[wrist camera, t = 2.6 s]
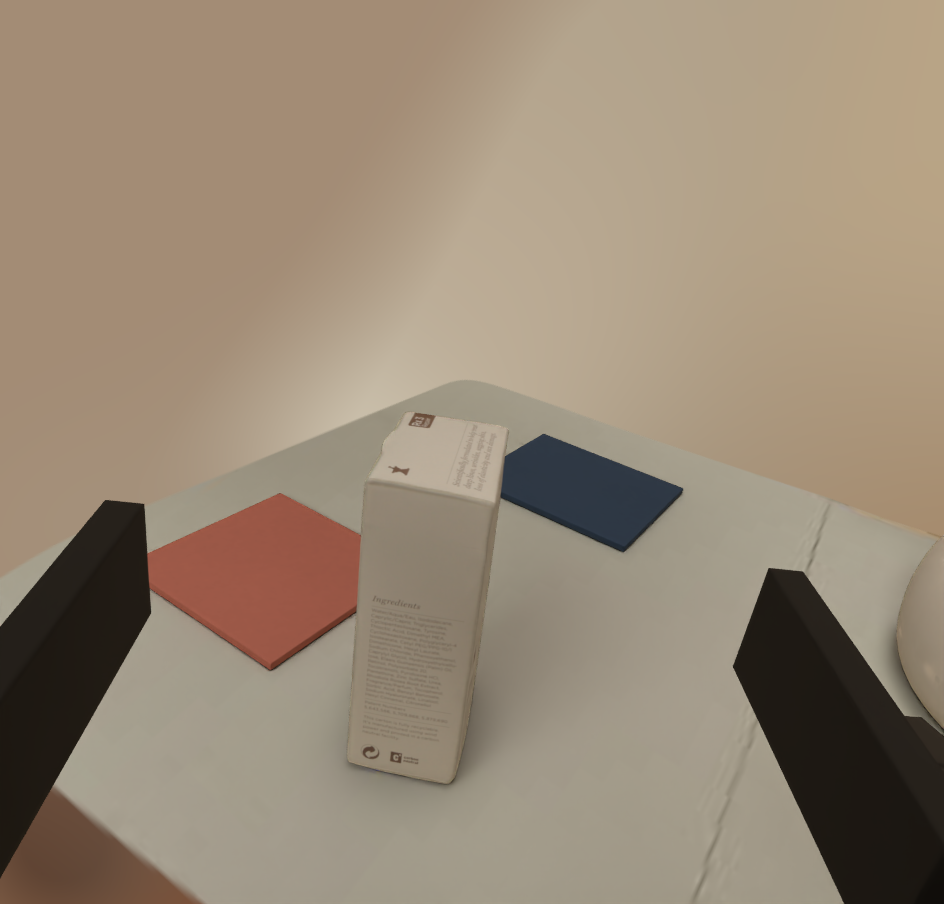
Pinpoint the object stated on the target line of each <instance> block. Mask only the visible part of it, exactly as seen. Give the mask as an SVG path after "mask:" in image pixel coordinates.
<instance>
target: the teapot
mask: <svg viewBox="0 0 944 904" xmlns="http://www.w3.org/2000/svg"><path fill="white" fill-rule="evenodd" d="M897 646H898V653H899V657H900V660H901V664H902V667H903V670H904V672H905V675H906V677H907V679H908V681H909V683H910V685H911V687H912V689H913V690H914V692H915V693H916V695H917V696H918V698H919V699H920V701H921V702H922V704H923V705H924V707H925V708H926V709H927V710H928V712H929V713H930V714H931V715H932V717H933V718H934V719H935V720H936V721H937V722H938V723H939V725H940V726H941V727H942V728H943V729H944V535H943V536H942V537H941V538H940V539H939V540H938V541H937V542H936V543H935V544H934V545H933V546H932V548H931V549H930V550H929V551H928V553H927V554H926V555H925V557H924V558H923V560H922V561H921V562H920V564H919V566H918V568H917V569H916V571H915V573H914V574H913V576H912V578H911V581H910V583H909V585H908V588H907V590H906V592H905V595H904V598H903V601H902V604H901V608H900V612H899V617H898V624H897Z"/></svg>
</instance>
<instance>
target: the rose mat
mask: <svg viewBox="0 0 944 904" xmlns="http://www.w3.org/2000/svg"><path fill="white" fill-rule="evenodd" d="M360 542H361V535H359V534H357V533H355V532H353V531H351V530H349V529H348V528H346V527H344V526H342V525H340V524H338V523H336V522H334V521H332V520H330V519H329V518H327V517H325V516H323V515H321V514H319V513H317V512H315V511H313V510H311V509H310V508H308V507H306V506H304V505H302V504H300V503H298V502H296V501H294V500H292V499H291V498H289V497H287V496H285V495H283V494H281V493H279V494H277V495H275V496H273V497H270V498H268V499H266V500H264V501H262V502H260V503H257V504H255V505H253V506H251V507H249V508H246V509H244V510H242V511H240V512H238V513H235V514H233V515H231V516H229V517H227V518H224V519H222V520H220V521H218V522H216V523H213V524H211V525H209V526H207V527H205V528H203V529H200V530H198V531H196V532H194V533H192V534H189V535H187V536H185V537H183V538H181V539H178V540H176V541H174V542H172V543H170V544H167V545H165V546H163V547H161V548H159V549H156V550H154V551H152V552H150V553H148V554H147V556H148V572H149V588H150V589H152V590H153V591H155V592H156V593H158V594H159V595H161V596H162V597H163V598H165V599H166V600H168V601H169V602H171V603H172V604H174V605H175V606H177V607H178V608H180V609H181V610H183V611H184V612H186V613H187V614H188V615H190V616H191V617H193V618H194V619H196V620H197V621H199V622H200V623H202V624H203V625H205V626H206V627H208V628H209V629H211V630H212V631H214V632H215V633H216V634H218V635H219V636H221V637H222V638H224V639H225V640H227V641H228V642H230V643H231V644H233V645H234V646H236V647H237V648H239V649H240V650H241V651H243V652H244V653H246V654H247V655H249V656H250V657H252V658H253V659H255V660H256V661H258V662H259V663H261V664H262V665H264V666H265V667H267V668H268V669H269V670H272V669H273V668H275V667H276V666H277V665H279V664H280V663H282V662H283V661H285V660H286V659H288V658H289V657H291V656H292V655H293V654H295V653H296V652H298V651H299V650H301V649H302V648H304V647H305V646H307V645H308V644H309V643H311V642H312V641H314V640H315V639H317V638H318V637H320V636H321V635H323V634H324V633H325V632H327V631H328V630H330V629H331V628H333V627H334V626H336V625H337V624H339V623H340V622H341V621H343V620H344V619H346V618H347V617H349V616H350V615H352V614H353V613H355V612H356V610H357V595H358V578H359V562H360Z"/></svg>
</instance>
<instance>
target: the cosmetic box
mask: <svg viewBox="0 0 944 904" xmlns="http://www.w3.org/2000/svg"><path fill="white" fill-rule="evenodd" d="M508 434H509V430H508V429H507V428H504V427H500V426H496V425H491V424H486V423H479V422H473V421H466V420H459V419H453V418H447V417H440V416H433V415H427V414H420V413H414V412H406V413H404V414H403V415H402V417H401V419H400V421H399V423H398V424H397V426H396V428H395V430H394V431H393V432H392V433H391V434H389V435H388V436H387V438H386V439H385V441H384V442H383V444H382V450H381V454H380V455H379V457H378V459H377V461H376V463H375V464H374V466H373V468H372V470H371V472H370V474H369V475H368V477H367V479H366V481H365V487H364V499H363V513H362V527H361V542H360V562H359V578H358V595H357V610H356V626H355V639H354V654H353V667H352V684H351V698H350V711H349V729H348V745H347V758H348V761H349V762H351V763H354V764H357V765H361V766H365V767H368V768H372V769H376V770H379V771H384V772H388V773H394V774H399V775H403V776H407V777H412V778H416V779H421V780H426V781H432V782H438V783H443V784H449V783H450V782H451V781H452V780H453V779H454V777H455V776H456V773H457V769H458V765H459V762H460V758H461V754H462V750H463V746H464V741H465V737H466V732H467V727H468V721H469V715H470V709H471V702H472V696H473V690H474V683H475V677H476V670H477V663H478V656H479V649H480V642H481V635H482V627H483V620H484V613H485V606H486V599H487V592H488V586H489V579H490V570H491V563H492V555H493V548H494V541H495V533H496V526H497V519H498V511H499V504H500V495H501V487H502V478H503V468H504V460H505V453H506V446H507V440H508Z"/></svg>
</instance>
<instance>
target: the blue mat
mask: <svg viewBox="0 0 944 904" xmlns="http://www.w3.org/2000/svg"><path fill="white" fill-rule="evenodd" d="M682 491H683V488H681V487H678V486H676V485H673V484H671V483H668V482H666V481H663V480H660V479H658V478H655V477H653V476H650V475H648V474H645V473H643V472H640V471H637V470H635V469H632V468H630V467H627V466H625V465H622V464H620V463H617V462H614V461H612V460H609V459H607V458H604V457H602V456H599V455H596V454H594V453H591V452H589V451H586V450H584V449H581V448H579V447H576V446H573V445H571V444H568V443H566V442H563V441H561V440H558V439H556V438H553V437H550V436H548V435H545V434H542V435H541V436H539V437H537V438H536V439H534V440H532V441H530V442H529V443H527V444H525V445H524V446H522V447H520V448H518V449H517V450H515V451H513V452H512V453H510V454H508V455H507V456H505V460H504V468H503V478H502V487H501V495H500V497H502V498H504V499H506V500H508V501H511V502H513V503H515V504H517V505H520V506H522V507H524V508H526V509H529V510H531V511H533V512H535V513H537V514H540V515H542V516H544V517H546V518H549V519H551V520H553V521H555V522H558V523H560V524H562V525H564V526H567V527H569V528H571V529H573V530H575V531H578V532H580V533H582V534H584V535H587V536H589V537H591V538H593V539H596V540H598V541H600V542H602V543H604V544H607V545H609V546H611V547H613V548H616V549H618V550H620V551H622V552H624V551H625V550H626V549H627V548H628V547H629V546H630V545H631V544H632V543H633V542H634V541H635V540H636V539H637V538H638V537H639V536H640V535H641V534H642V533H643V532H644V531H645V530H646V529H647V528H648V527H649V526H650V525H651V524H652V523H653V522H654V521H655V520H656V519H657V518H658V517H659V516H660V515H661V514H662V513H663V512H664V511H665V510H666V509H667V508H668V507H669V506H670V505H671V504H672V503H673V502H674V501H675V500H676V499H677V498H678V497H679V496H680V495H681V494H682Z"/></svg>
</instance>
